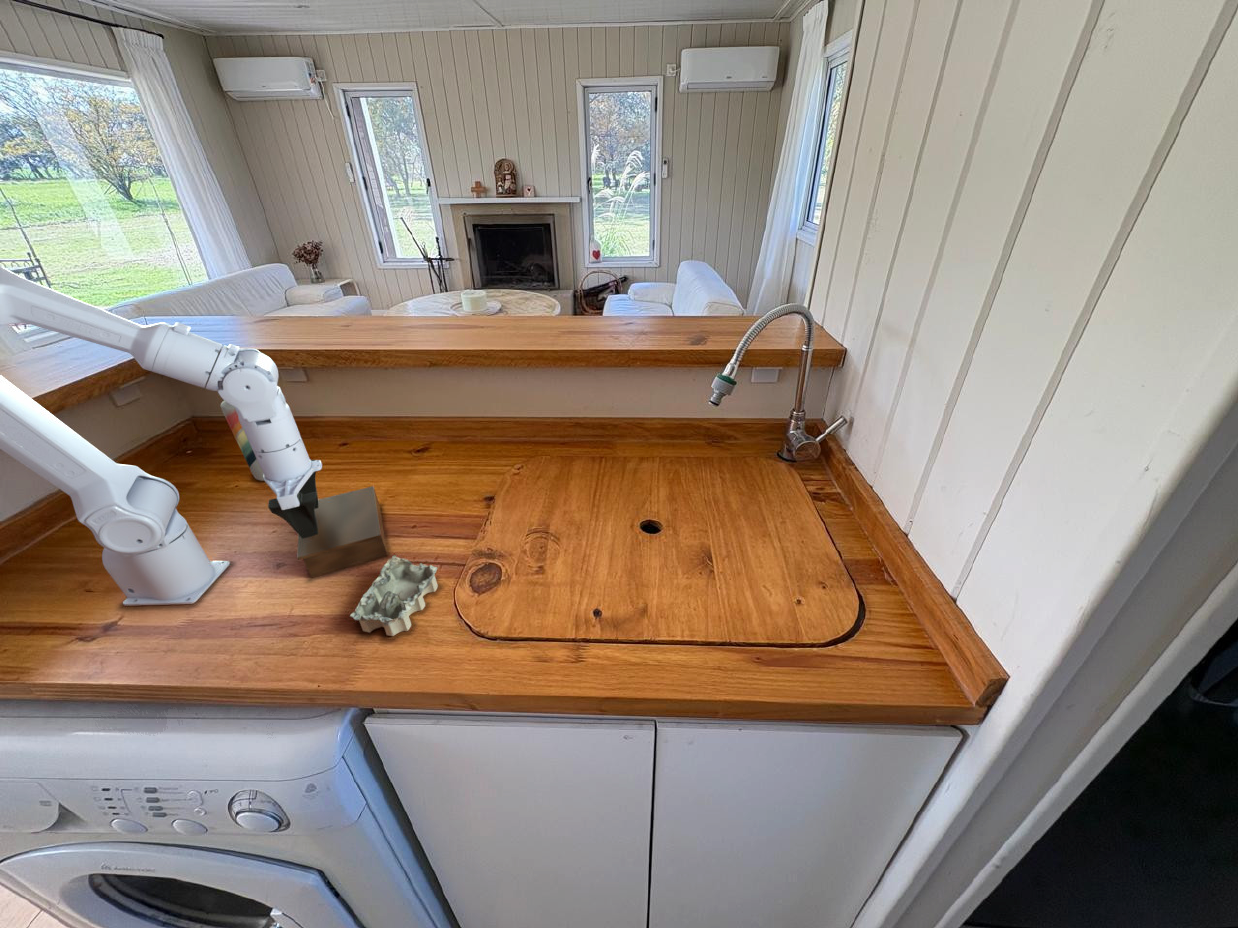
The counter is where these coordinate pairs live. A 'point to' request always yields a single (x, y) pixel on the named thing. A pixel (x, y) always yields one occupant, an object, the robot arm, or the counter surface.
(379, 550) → the compartment
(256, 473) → the lotion bottle
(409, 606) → the egg carton
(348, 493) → the lid
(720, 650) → the counter surface
